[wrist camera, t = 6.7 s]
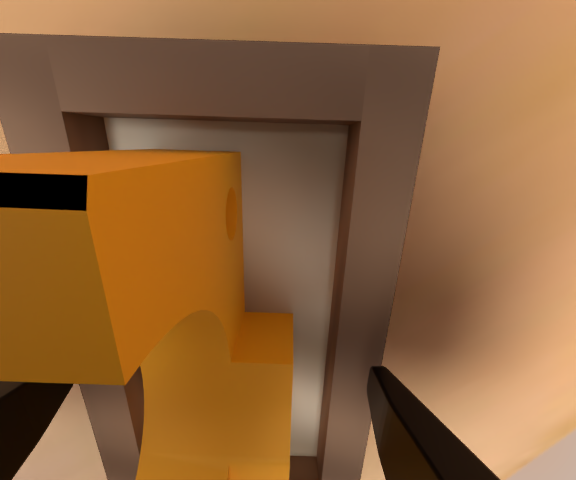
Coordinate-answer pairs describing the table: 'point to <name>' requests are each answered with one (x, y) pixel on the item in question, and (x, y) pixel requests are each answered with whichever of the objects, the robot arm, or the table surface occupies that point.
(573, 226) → the table surface
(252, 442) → the pipe clamp
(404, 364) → the table surface
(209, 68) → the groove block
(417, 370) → the table surface
